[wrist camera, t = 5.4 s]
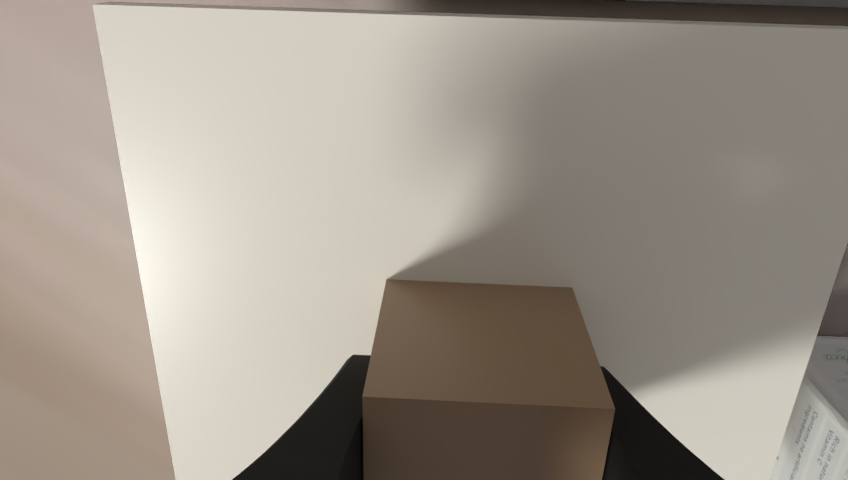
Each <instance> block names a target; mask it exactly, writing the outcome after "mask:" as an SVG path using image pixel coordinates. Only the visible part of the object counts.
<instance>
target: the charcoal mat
mask: <svg viewBox="0 0 848 480" xmlns="http://www.w3.org/2000/svg"><path fill="white" fill-rule="evenodd" d="M627 1H658V2H689V3H720V4H751V5H782V6H813V7H844V8H848V0H627Z"/></svg>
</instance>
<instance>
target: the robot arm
mask: <svg viewBox="0 0 848 480" xmlns="http://www.w3.org/2000/svg"><path fill="white" fill-rule="evenodd" d="M370 357H371V355H352V356H351V357H350V358H348V359H347V360H346V362H345V363H344V365H343V366H342V367H341V369H340V370H339V371H338V373H337V374H336V375H335V377H334V378H333V379H332V380H331V382H330V383H329V384H328V385H327V387H326V388H325V389H324V390H323V391H322V393H321V394H320V395H319V396H318V397H317V398H316V400H315V401H314V402H313V403H312V404H311V405H310V406H309V407H308V408H307V410H306V411H305V412H304V413H303V414H302V415H301V416H300V417H299V418H298V420H297V421H296V422H295V423H294V424H293V425H292V426H291V427H290V428H289V429H288V430H287V431H286V432H285V433H284V434H283V435H282V436H281V437H280V438H279V439H278V440H277V441H276V442H274V443H273V444H272V445H271V446H270V447H269V448H268V449H267V450H266V451H265V452H264V453H263V454H262V455H261V456H260V457H258V458H257V459H256V460H255V461H254V462H253V463H252V464H250V465H249V466H248V467H247V468H246V469H244V470H243V471H242V472H241V473H240V474H238V475H237V476H236V477H235V478H233V479H232V480H364V472H363V405H362V396H363V391H364V386H365V381H366V376H367V372H368V367H369V362H370ZM600 367H601V370H602V373H603V376H604V379H605V381H606V384H607V387H608V390H609V393H610V396H611V398H612V401H613V404H614V407H615V413H614V418H613V424H612V429H611V434H610V440H609V445H608V450H607V456H606V461H605V466H604V472H603V477H602V480H725V479H723V478H722V477H721V476H719V475H718V474H717V473H716V472H715V471H713V470H712V469H711V468H710V467H709V466H708V465H706V464H705V463H704V462H703V461H702V460H700V459H699V458H698V457H697V456H696V455H695V454H693V453H692V452H691V451H690V450H689V449H688V448H687V447H685V446H684V445H683V444H682V443H681V442H680V441H679V440H678V439H677V438H675V437H674V436H673V435H672V434H671V433H670V432H669V431H668V430H667V429H666V428H665V427H664V426H663V425H662V424H661V423H660V422H658V421H657V420H656V419H655V418H654V417H653V416H652V415H651V414H650V413H649V412H648V411H647V410H646V409H645V408H644V407H643V406H642V405H641V404H640V403H639V402H638V401H637V400H636V399H635V398H634V397H633V396H632V395H631V394H630V393H629V392H628V391H627V390H626V388H625V387H624V386H623V385H622V384H621V383H620V382H619V381H618V380H617V379H616V378H615V377H614V376H613V375H612V374H611V373H610V372H609V371H608V370H607V369H606V368H605V367H604V366H600Z"/></svg>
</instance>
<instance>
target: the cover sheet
mask: <svg viewBox="0 0 848 480" xmlns="http://www.w3.org/2000/svg"><path fill="white" fill-rule="evenodd" d="M93 10H94V16H95V21H96V27H97V33H98V38H99V44H100V50H101V56H102V61H103V67H104V73H105V78H106V84H107V90H108V96H109V101H110V107H111V113H112V118H113V124H114V130H115V136H116V141H117V147H118V153H119V158H120V164H121V170H122V176H123V181H124V187H125V193H126V198H127V204H128V210H129V216H130V221H131V227H132V233H133V238H134V244H135V250H136V256H137V261H138V267H139V273H140V278H141V284H142V290H143V296H144V301H145V307H146V313H147V318H148V324H149V330H150V336H151V341H152V347H153V353H154V358H155V364H156V370H157V376H158V381H159V387H160V393H161V398H162V404H163V410H164V415H165V421H166V427H167V433H168V438H169V444H170V450H171V455H172V461H173V467H174V473H175V478H176V480H232V479H233V478H235V477H236V476H237V475H238V474H240V473H241V472H242V471H243V470H244V469H246V468H247V467H248V466H249V465H250V464H252V463H253V462H254V461H255V460H256V459H257V458H258V457H260V456H261V455H262V454H263V453H264V452H265V451H266V450H267V449H268V448H269V447H270V446H271V445H272V444H273V443H274V442H276V441H277V440H278V439H279V438H280V437H281V436H282V435H283V434H284V433H285V432H286V431H287V430H288V429H289V428H290V427H291V426H292V425H293V424H294V423H295V422H296V421H297V420H298V418H299V417H300V416H301V415H302V414H303V413H304V412H305V411H306V410H307V408H308V407H309V406H310V405H311V404H312V403H313V402H314V401H315V400H316V398H317V397H318V396H319V395H320V394H321V393H322V391H323V390H324V389H325V388H326V387H327V385H328V384H329V383H330V382H331V380H332V379H333V378H334V377H335V375H336V374H337V373H338V371H339V370H340V369H341V367H342V366H343V365H344V363H345V362H346V360H347V359H348V358H350V357H351V356H352V355H371V357H370V362H369V367H368V372H367V376H366V381H365V386H364V391H363V396H362V405H363V472H364V480H602V477H603V472H604V466H605V461H606V456H607V450H608V445H609V440H610V434H611V429H612V424H613V418H614V413H615V407H614V404H613V401H612V398H611V396H610V393H609V390H608V387H607V384H606V381H605V379H604V376H603V373H602V370H601V367H600V366H604V367H605V368H606V369H607V370H608V371H609V372H610V373H611V374H612V375H613V376H614V377H615V378H616V379H617V380H618V381H619V382H620V383H621V384H622V385H623V386H624V387H625V388H626V390H627V391H628V392H629V393H630V394H631V395H632V396H633V397H634V398H635V399H636V400H637V401H638V402H639V403H640V404H641V405H642V406H643V407H644V408H645V409H646V410H647V411H648V412H649V413H650V414H651V415H652V416H653V417H654V418H655V419H656V420H657V421H658V422H660V423H661V424H662V425H663V426H664V427H665V428H666V429H667V430H668V431H669V432H670V433H671V434H672V435H673V436H674V437H675V438H677V439H678V440H679V441H680V442H681V443H682V444H683V445H684V446H685V447H687V448H688V449H689V450H690V451H691V452H692V453H693V454H695V455H696V456H697V457H698V458H699V459H700V460H702V461H703V462H704V463H705V464H706V465H708V466H709V467H710V468H711V469H712V470H713V471H715V472H716V473H717V474H718V475H719V476H721V477H722V478H723V479H725V480H769V479H770V476H771V473H772V470H773V467H774V464H775V461H776V458H777V455H778V452H779V449H780V446H781V443H782V440H783V437H784V434H785V431H786V428H787V425H788V422H789V419H790V416H791V413H792V410H793V407H794V404H795V401H796V398H797V395H798V391H799V388H800V385H801V382H802V379H803V376H804V373H805V370H806V367H807V364H808V361H809V358H810V355H811V352H812V349H813V346H814V343H815V340H816V337H817V334H818V331H819V328H820V325H821V322H822V319H823V316H824V313H825V310H826V307H827V304H828V301H829V298H830V295H831V292H832V289H833V286H834V283H835V280H836V277H837V274H838V271H839V268H840V265H841V262H842V259H843V256H844V253H845V250H846V246H847V243H848V26H830V25H799V24H769V23H739V22H708V21H678V20H648V19H617V18H587V17H557V16H526V15H496V14H466V13H435V12H405V11H374V10H344V9H314V8H283V7H253V6H223V5H192V4H162V3H132V2H106V3H99V4H93Z"/></svg>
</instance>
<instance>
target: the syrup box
mask: <svg viewBox="0 0 848 480" xmlns="http://www.w3.org/2000/svg"><path fill="white" fill-rule="evenodd" d="M769 480H848V337H833V336H817V337H816V340H815V343H814V346H813V349H812V352H811V355H810V358H809V361H808V364H807V367H806V370H805V373H804V376H803V379H802V382H801V385H800V388H799V391H798V395H797V398H796V401H795V404H794V407H793V410H792V413H791V416H790V419H789V422H788V425H787V428H786V431H785V434H784V437H783V440H782V443H781V446H780V449H779V452H778V455H777V458H776V461H775V464H774V467H773V470H772V473H771V476H770V479H769Z"/></svg>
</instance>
